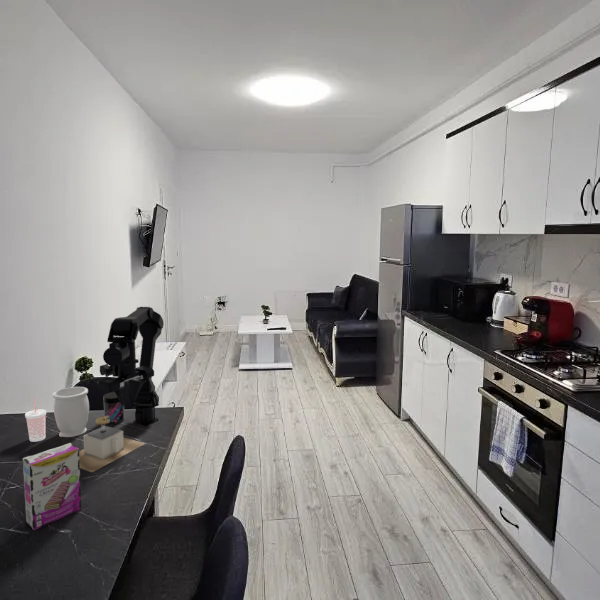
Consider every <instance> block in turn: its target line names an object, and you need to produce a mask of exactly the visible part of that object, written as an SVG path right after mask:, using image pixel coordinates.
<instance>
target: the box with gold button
mask: <svg viewBox="0 0 600 600" xmlns="http://www.w3.org/2000/svg"><path fill="white" fill-rule="evenodd" d="M82 437H83V449H84V454H85V455H88V456H91V457H94V458H97V459H100V460H104V459H106V458H108V457H110V456H112V455H114V454H116V453H118V452H120V451H122V450H123V449H124V440H123V437H124V430H120V429H118V428H114V427H111V426H109V425H108V426H107V425H105V432H104V433H102V427H99V428H96V429H94V430H92V431H90V432H87V433H86V434H84V435H83V436H82Z"/></svg>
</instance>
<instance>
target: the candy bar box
mask: <svg viewBox="0 0 600 600" xmlns="http://www.w3.org/2000/svg"><path fill="white" fill-rule="evenodd" d="M79 451H80V448H78V447H77V446H76V445H74V444H73V443H71V442H68V443H66V444H62V445H59V446H57V447H53V448H51V449H47V450H45V451H41V452H37V453H34V454H31V455H27V456H25V457H23V458H22V471H23V472H22V474H23V490H24V507H25V508H24V509H25V521H26V523H27V525H29V527H30V528H31V529H32V530H33V531H36V530H38V529H40V528H43V527H44V526H48V525H49V524H51V523H53V522H56V521H58V520H60V519H63V518H65V517H67V516H69V515H71V514H75V513H77V512H78V511H81V510H82V493H81V468H80V465H79Z"/></svg>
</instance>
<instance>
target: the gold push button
mask: <svg viewBox="0 0 600 600" xmlns="http://www.w3.org/2000/svg"><path fill="white" fill-rule="evenodd" d="M109 422H110V417H109V416H104V415H101V416H98V417H96V418H95V425H98V426H101V427H102V433H104V432H105V426H106V425H109V424H108V423H109Z"/></svg>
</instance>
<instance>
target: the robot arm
mask: <svg viewBox="0 0 600 600" xmlns="http://www.w3.org/2000/svg"><path fill="white" fill-rule="evenodd" d="M164 323H165V322H164V319H163V317H162V315H161V314H160V313H158V312H157V311H155V310H154V309H153V307H151V306H139V307H136V309H135V310H134V311H132V312H131V313H130V314H129V315H127V316H124V317H121V316H120V317H115V318H114V319H113V320H112V322H111V323H110V328H109V333H108V336H107V340H106V342H107V343H109V345H108V348H106V349H105V351H104V352H103V355H102V359H103V361H104V363H105V364H102V365H99V373H100V375H101V376H105V378H102V379H99V380H98V381H97V382H96V389H97V390H99V391H103V392H107V393H111V392H115V393H116V395H117V397H118V399H119V401H120V404H121V405H122V406H124V407H125V405H126V402H127V401H126V400H127V393H128V386H125V383H126V382H128V385H129V389H130V390H129V391H130V392H129V397H128V398H129V403H130V407H131V408H135V411H134V417H135V418H134V420H132V423H133V424H138V425H140V426H144V427H147V426H149V425H151V424H153V423H155V422H157V421H159V418H158V417H156V407H159V405H160V396H159V395H158V393H157V391H156V386H155V383H154V382H153V379H152V378H153V377H154V376H155V370H154V369H153V368H154V360H155V351H156V341H157V339H158V338H160V335H162V331H163V330H162V329H164ZM138 334H140V336H141V338H142V341H141V342H142V343H141V349H140V350H141V351H140V359H137V358H136V357H137V356H136V340H137V338H138ZM138 363H139V366H138V367H137V364H138ZM109 376H112V377H113V378H112V377H109ZM156 420H157V421H156Z"/></svg>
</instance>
